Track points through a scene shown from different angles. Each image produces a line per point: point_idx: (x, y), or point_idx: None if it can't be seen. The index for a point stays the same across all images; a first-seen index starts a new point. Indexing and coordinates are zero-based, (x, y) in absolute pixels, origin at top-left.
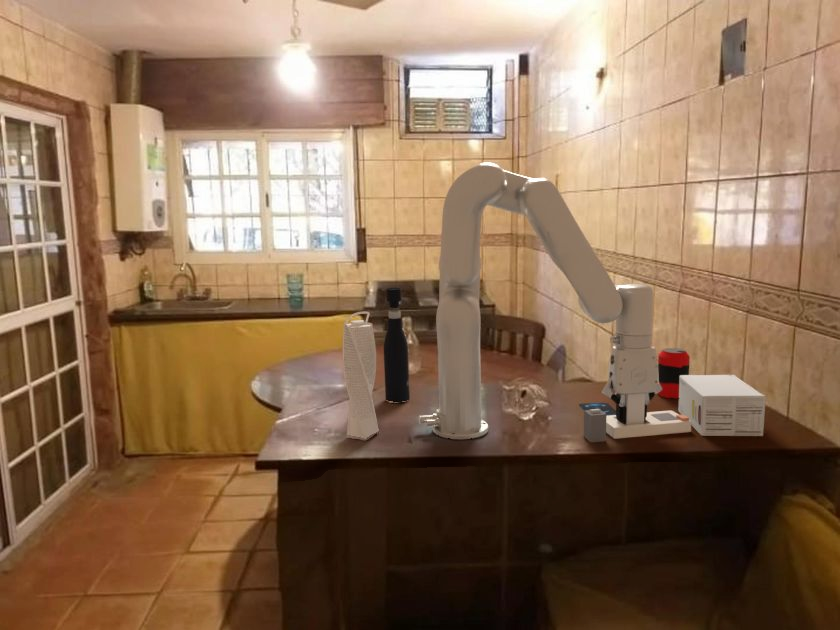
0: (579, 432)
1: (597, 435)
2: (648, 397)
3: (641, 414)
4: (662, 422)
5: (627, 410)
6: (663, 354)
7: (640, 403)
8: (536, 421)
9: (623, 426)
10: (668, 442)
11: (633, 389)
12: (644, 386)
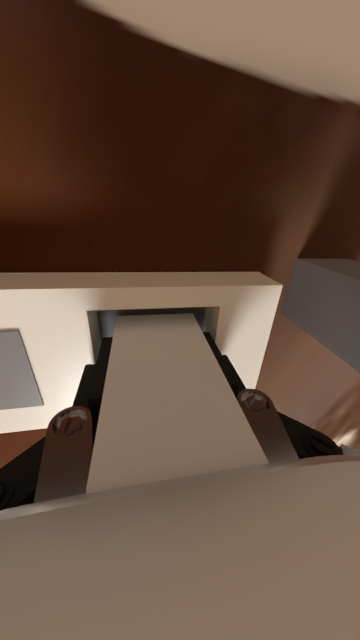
0: (313, 345)
1: (346, 264)
2: (47, 460)
3: (127, 352)
4: (16, 308)
5: (218, 365)
6: None
7: (136, 401)
8: (343, 421)
9: (235, 295)
10: (51, 158)
11: (275, 529)
12: (99, 627)
